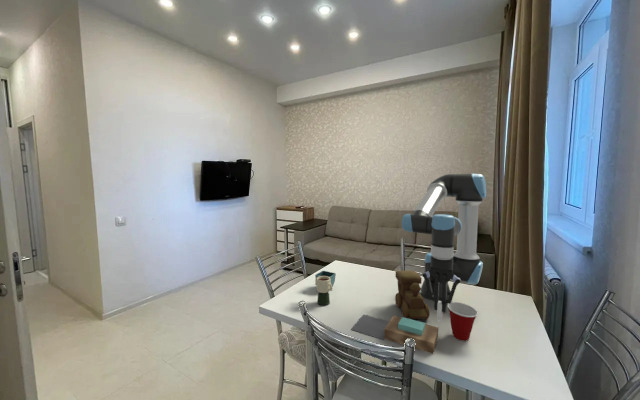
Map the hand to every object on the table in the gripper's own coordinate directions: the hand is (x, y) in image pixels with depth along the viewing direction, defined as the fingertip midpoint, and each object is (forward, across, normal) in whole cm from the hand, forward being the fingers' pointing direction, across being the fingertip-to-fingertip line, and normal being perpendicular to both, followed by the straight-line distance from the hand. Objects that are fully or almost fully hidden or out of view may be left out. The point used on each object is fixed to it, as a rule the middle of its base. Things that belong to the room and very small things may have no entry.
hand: (439, 319), depth 100 cm
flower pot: (+11, +62, -23) cm, 67 cm away
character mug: (+11, +55, -8) cm, 56 cm away
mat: (+11, +26, 0) cm, 28 cm away
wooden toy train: (+11, +15, -22) cm, 28 cm away
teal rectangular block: (+7, +10, 0) cm, 12 cm away
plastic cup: (+11, -7, -11) cm, 17 cm away
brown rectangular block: (+11, +10, 0) cm, 15 cm away
